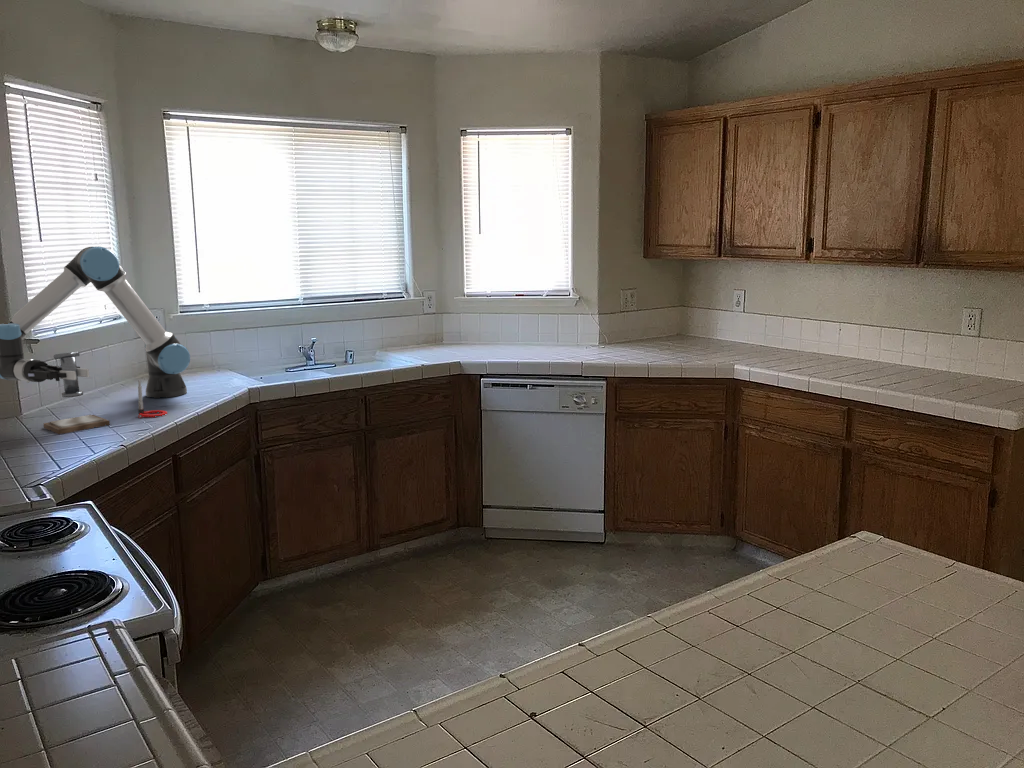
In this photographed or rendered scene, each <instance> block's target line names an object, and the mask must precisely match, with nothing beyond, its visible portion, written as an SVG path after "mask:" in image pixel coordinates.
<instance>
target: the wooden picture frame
mask: <svg viewBox="0 0 1024 768" xmlns="http://www.w3.org/2000/svg"><path fill="white" fill-rule="evenodd" d="M42 425H43V428H44V429H46V430H48V431H50V430H51V431H50V432H53V433H55V434H57V435H62V434H69V433H73V432H78V431H85V430H90V429H95V428H94V427H96V428H101V427H106V426H105V425H107V426H111V423H110V420H109V419H106V418H104V417H100V416H98V415H96V414H87V415H82V416H81V415H80V416H75V417H70V418H64V419H58V420H52V421H49V422H44V423H43V424H42ZM100 426H101V427H100ZM89 428H90V429H89ZM84 429H85V430H84Z"/></svg>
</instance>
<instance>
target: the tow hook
mask: <svg viewBox="0 0 1024 768" xmlns="http://www.w3.org/2000/svg"><path fill="white" fill-rule="evenodd" d="M137 382H138V383H137V384H138V386H137V394H138V401H137V403H138V404H137V405H138V406H137V407H138V409H137V410H138V414H137V417H138V418H139V419H142V418H156V417H155V416H161V417H163V416H162V415H165V414H167V415H168V411H167V410H161V409H155V410H154V409H153V410H144V401H143V390H142V383H141V382H142V381H141V380H140V379H139V380H137ZM157 412H159V413H157ZM150 413H151V414H150ZM165 416H166V415H165Z"/></svg>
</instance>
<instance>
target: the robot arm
mask: <svg viewBox="0 0 1024 768" xmlns="http://www.w3.org/2000/svg"><path fill="white" fill-rule="evenodd" d="M126 275H127V272H126V271H125V270H124V268H123V267H122V265H121V264H120V261H119V259H118V257H117V256H116V254H115V253H114V252H113V251H111V250H110V249H109V248H107V247H103V246H87V247H85V248H83V249H81V250H80V251H79V252H77V254H76V255H75V256H74V257H73V258H72V259H71V260H70V261H69V262H68V263H67V264H66V265H65V266H64V267H63V272H61V273H60V274H59V275H58V276H57V277H56V278H55V279H53V280H52V281H51V282H49V284H48V285H46V286H45V287H44V288H43V289H42V290H41V291H39V293H37V294H36V295H35V296H33V298H32V299H30V300H29V301H28V302H27V303H25V305H24V306H22V307H21V308H20V309H19V310H18V311H17V312H16V313H14V314H13V315H14V316H13V315H12V316H13V318H12V320H11V322H10V323H8V324H4V323H0V380H1V379H2V380H7V381H20V382H26V383H27V384H29V383H30V382H31V383H32V382H33V383H42V382H45V381H46V380H50V381H52V380H54V379H55V382H60V381H61V380H63V379H69V380H76V372H75V371H63V370H62V368H61V364H60V365H52V364H48V362H46V361H44V360H41V359H32V358H31V359H29V358H25V354H24V353H25V352H24V347H23V338H24V337H25V336H26V335H27V334H29V332H30V331H32V330H33V329H34V328H35V327H36V326H37V325H39V324H40V323H41V322H42V321H43V320H45V318H47V316H49V315H50V314H51V313H53V311H55V310H56V309H57V308H58V307H59V306H60V305H62V304H63V303H64V302H65V301H66V300H67V299H69V297H71V295H73V294H74V293H75V292H77V290H78V289H80V288H81V287H86V286H88V285H90V283H91V284H92V285H93V287H94V288H95V289H96V291H100V292H103V293H104V294H106V296H107V298H109V300H110V301H111V303H113V305H114V306H115V307H116V308H117V310H118V311H119V312H120V314H121V315H122V316H123V317H124V319H125V320H126V321H127V322H128V324H129V325H130V327H131V328H132V329H133V330H134V332H136V334H137V335H138V336H139V337H140V338H141V340H142V341H143V343H144V344H145V346H144V347H145V349H144V351H145V353H146V362H147V372H148V373H147V374H148V378H147V383H146V388H145V397H146V396H147V398H150V397H154V398H153V399H161V398H160V397H166V398H173V397H179V396H182V395H183V396H184V395H186V394H188V390H187V386H186V383H185V381H184V379H183V377H182V374H181V373H183V372H184V371H185V370H187V368H188V367H189V366H190V362H191V354H190V352H189V350H188V348H187V347H186V346H184V345H183V344H182V343H181V342H180V341H179V340H178V338H177V337H176V336H175V334H173V332H169V331H167V330H165V328H164V326H163V325H162V324H161V323H160V322H159V321H158V319H157V318H156V316H155V315H154V314H153V313H152V311H151V310H150V309H149V308H148V306H147V305H146V304H145V302H144V301H143V300H142V298H141V297H140V296H139V295H138V293H137V292H136V291H135V289H134V288H133V287H132V286H131V283H129V281H128V280H127V279H126ZM76 367H77V375H78V378H79V377H80V378H90V377H91V376H90V369H89V368H83V367H81V366H79V365H76Z"/></svg>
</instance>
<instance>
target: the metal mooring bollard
mask: <svg viewBox="0 0 1024 768" xmlns="http://www.w3.org/2000/svg"><path fill="white" fill-rule="evenodd" d="M76 357H80V352H79V351H71V352H62V353H55V354H53V359H55V360H60V365H61V368H62V370H63V371H75V372H76V380H69V379H62V381H63V389H64V392H61V397H62V398H75V397H80V396H83V395H84V390H80V384H79V377H78V375H77V367H78V366H77V360H76ZM76 366H77V367H76Z"/></svg>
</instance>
